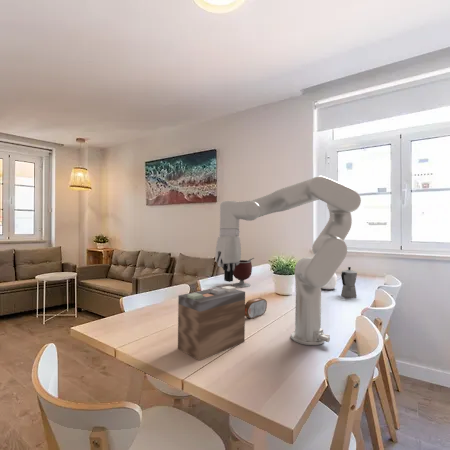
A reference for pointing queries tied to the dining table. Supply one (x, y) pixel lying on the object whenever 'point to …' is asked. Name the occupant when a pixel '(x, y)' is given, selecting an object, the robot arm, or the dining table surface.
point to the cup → (331, 283)
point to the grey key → (218, 291)
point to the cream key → (229, 288)
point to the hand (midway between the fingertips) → (228, 280)
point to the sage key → (194, 296)
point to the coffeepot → (348, 283)
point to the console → (210, 322)
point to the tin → (255, 307)
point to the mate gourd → (243, 272)
